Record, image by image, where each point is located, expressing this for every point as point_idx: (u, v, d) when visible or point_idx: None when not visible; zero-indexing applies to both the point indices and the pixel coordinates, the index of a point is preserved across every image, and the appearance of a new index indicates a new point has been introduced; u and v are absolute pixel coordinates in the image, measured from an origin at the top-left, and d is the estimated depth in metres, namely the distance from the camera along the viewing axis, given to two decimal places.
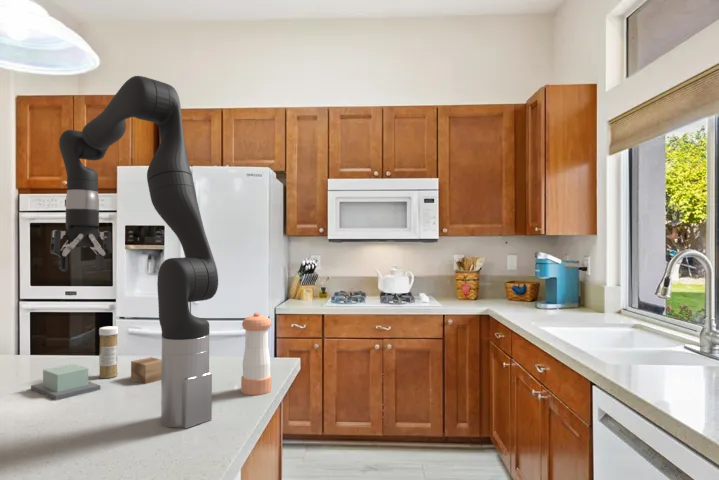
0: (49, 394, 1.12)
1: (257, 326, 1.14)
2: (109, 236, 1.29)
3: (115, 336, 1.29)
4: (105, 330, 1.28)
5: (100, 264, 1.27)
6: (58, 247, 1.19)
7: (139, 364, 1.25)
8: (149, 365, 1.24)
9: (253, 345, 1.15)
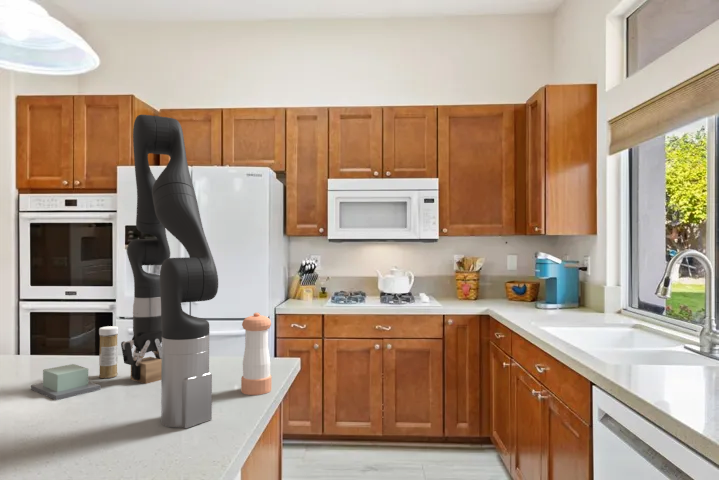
0: (49, 394, 1.12)
1: (257, 326, 1.14)
2: None
3: (115, 336, 1.29)
4: (105, 330, 1.28)
5: None
6: (131, 358, 1.23)
7: None
8: (149, 364, 1.24)
9: (252, 345, 1.15)
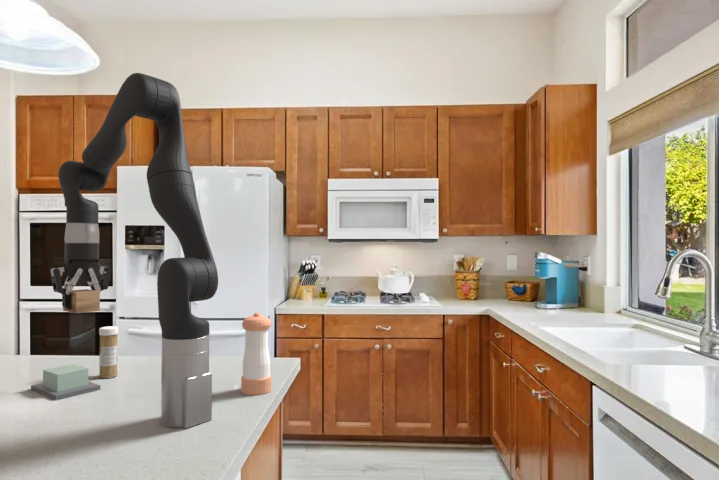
0: (49, 394, 1.12)
1: (257, 326, 1.14)
2: (109, 271, 1.25)
3: (115, 336, 1.29)
4: (105, 330, 1.28)
5: None
6: (60, 285, 1.15)
7: None
8: (80, 293, 1.17)
9: (252, 345, 1.15)
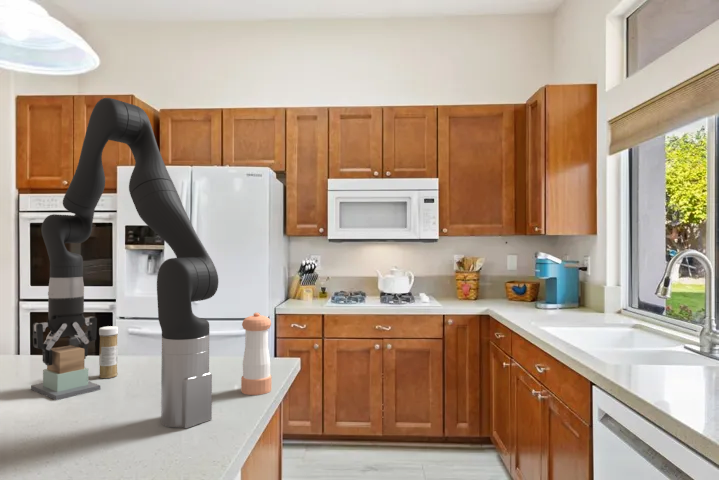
0: (49, 394, 1.12)
1: (257, 326, 1.14)
2: (95, 322, 1.23)
3: (115, 336, 1.29)
4: (105, 330, 1.28)
5: None
6: (41, 341, 1.13)
7: (54, 352, 1.16)
8: (64, 353, 1.15)
9: (252, 345, 1.15)
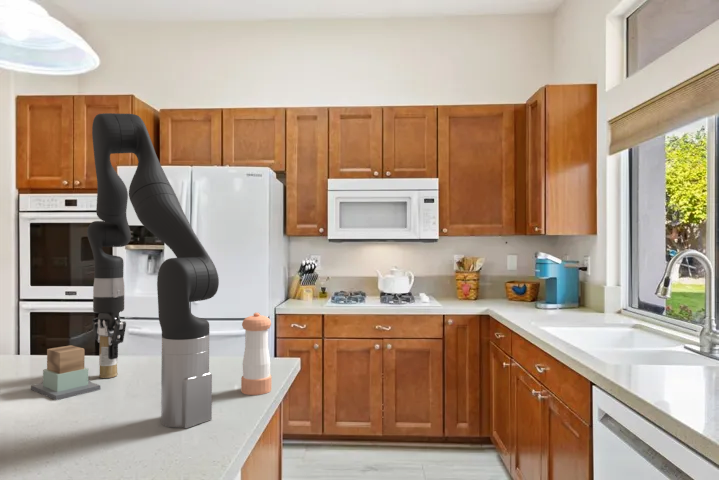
0: (49, 394, 1.12)
1: (257, 326, 1.14)
2: (116, 327, 1.25)
3: None
4: None
5: (109, 353, 1.27)
6: (95, 333, 1.32)
7: (54, 352, 1.16)
8: (64, 353, 1.15)
9: (252, 345, 1.15)
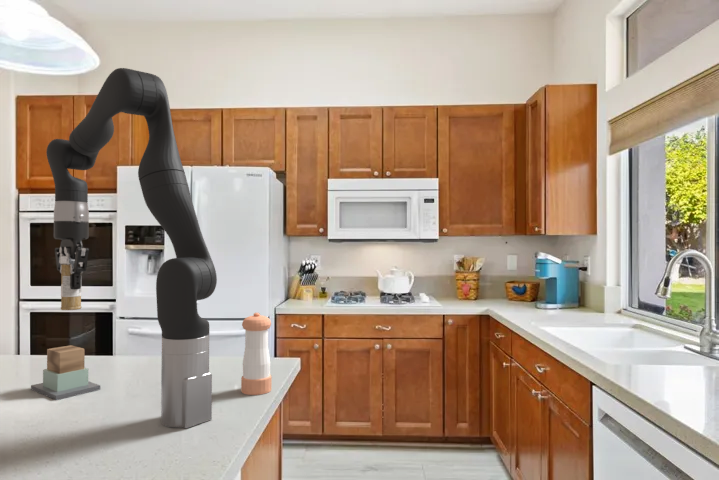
0: (49, 394, 1.12)
1: (257, 326, 1.14)
2: (77, 253, 1.15)
3: None
4: (66, 258, 1.17)
5: (70, 283, 1.17)
6: (58, 264, 1.21)
7: (54, 352, 1.16)
8: (64, 353, 1.15)
9: (252, 345, 1.15)
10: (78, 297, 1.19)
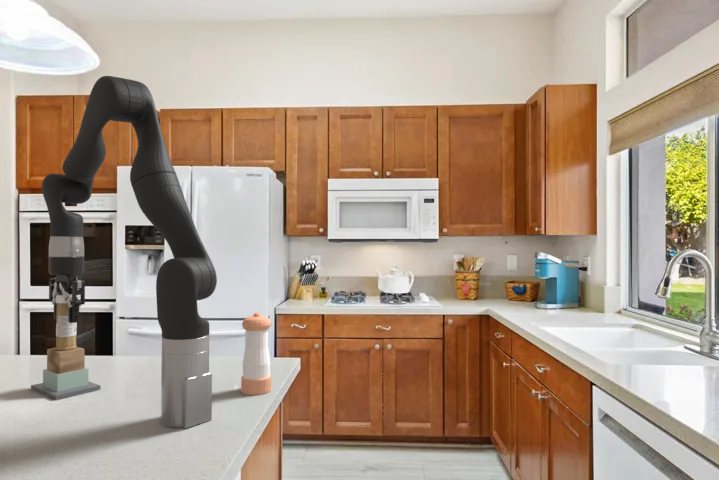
0: (49, 394, 1.12)
1: (257, 326, 1.14)
2: (73, 286, 1.14)
3: None
4: (61, 297, 1.16)
5: (68, 316, 1.15)
6: (50, 295, 1.21)
7: (54, 352, 1.16)
8: (64, 353, 1.15)
9: (252, 345, 1.15)
10: (73, 337, 1.18)
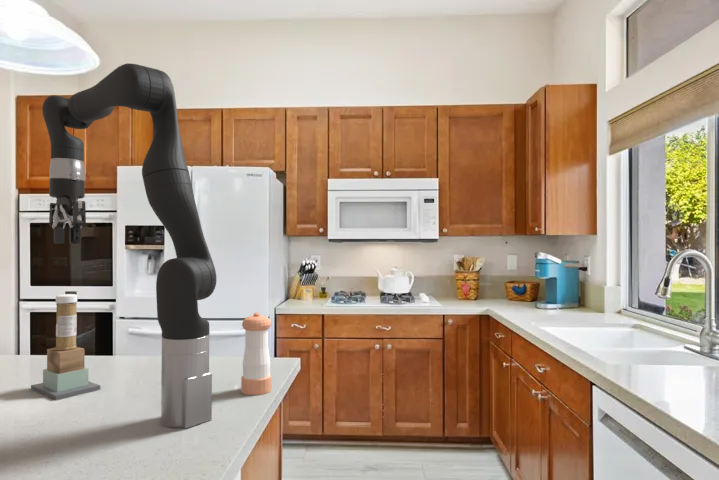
0: (49, 394, 1.12)
1: (257, 326, 1.14)
2: (74, 205, 1.14)
3: (73, 304, 1.18)
4: (61, 297, 1.16)
5: (69, 237, 1.15)
6: (50, 219, 1.21)
7: (54, 352, 1.16)
8: (64, 353, 1.15)
9: (252, 345, 1.15)
10: (73, 337, 1.18)
